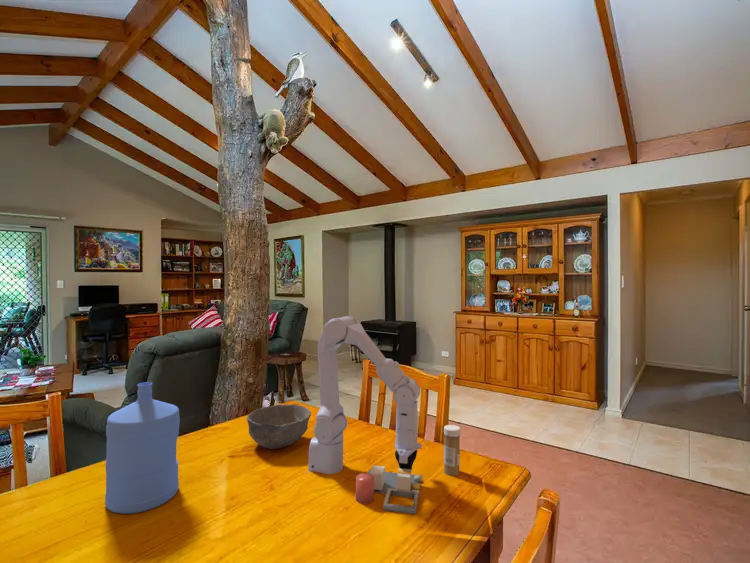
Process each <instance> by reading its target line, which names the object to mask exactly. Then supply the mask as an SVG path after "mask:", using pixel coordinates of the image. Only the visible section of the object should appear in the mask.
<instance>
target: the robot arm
mask: <svg viewBox="0 0 750 563" xmlns="http://www.w3.org/2000/svg"><path fill="white" fill-rule="evenodd" d="M343 343H344V344H349V345H353V346H356V347H357V348H359V350H360V351H361V352H362V353H364V354H363V355H365V356H366V358H368V359H369V360H370V362H371V363H373V364H374V365H375V368H376V370H375V371H376V372H375V373H376V375H377V376H378V377H379V378H380V380H382V382H383V383H384V384H385V385H386V387H387V388H388V389H389V391H391V392H392V393H393V394H392V396H393V400H394V402H395V404H396V411H395V413H396V414H395V442H394V448H395V453H394V457H395V460H396V461H397V464H398V469H399V468H403V469H411V472H412V469H413V465H414V462H415V461H416V458H417V454H418V450H421V449H422V445H423V444H422V443H420V442H419V443H418V419H419V418H418V416H419V415H418V413H419V410H418V398H419V397H420V394H421V389H420V386H419V384H418V383H417V381H416V380H414V379H412V378H411V377H410V376H409V375H406V374H405V372H404V371H403V370H402V369H401V367H400V363H399V362H398V361H397V360H396V361H394V359H392V358H386V357H385V355H384V354H383V353H382V352H381V350H380V348H378V346H377V345H376V344H375V343H374V341H373V340H372V339H371V337H370V336H369V335H368V334H367V332H366V331H365V329H364V327H363V325H362V323H360V322H358V320H357V319H356V318H355V317H353V316H351V315H345V316H342V317H341V316H340V317H335V318H331V319H330V320H328V321H327V322H326V323H325V324H324V325H323V326H322V332H321V334H320V337H319V339H318V342H317V345H316V346H317V348H316V349H317V363H318V380H319V396H320V397H319V400H320V406H319V409H318V411H317V414H316V415H315V419H316V420H315V425H314V427H313V433H314V434H313V435H314V437H312V438H311V440H310V442H309V445H308V471H307V474H309V473H310V472H316V473H321V474H327V475H335V474H338V473H340V472H342V470H343V468H344V431H345V430H346V428H347V426H348V419H347V417H346V415H345V411H344V406H343V405H341V403H340V390H339V389H340V388H339V374H338V373H339V372H338V371H339V370H338V354H337V349H338V348H339V347H340V346H341V345H343Z"/></svg>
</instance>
